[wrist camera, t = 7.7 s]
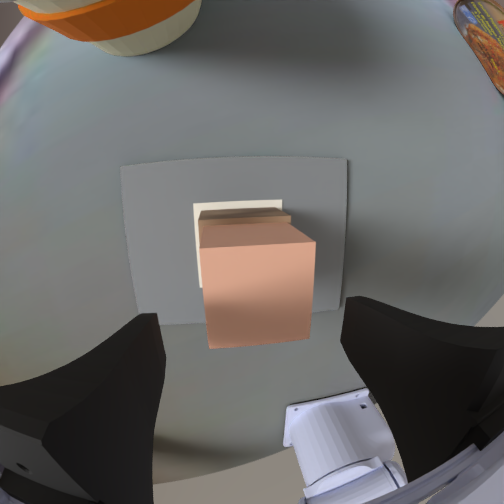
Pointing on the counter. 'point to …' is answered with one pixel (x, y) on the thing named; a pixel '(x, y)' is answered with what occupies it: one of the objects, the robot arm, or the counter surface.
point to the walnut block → (241, 217)
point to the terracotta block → (256, 283)
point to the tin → (484, 34)
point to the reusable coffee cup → (115, 21)
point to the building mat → (226, 197)
